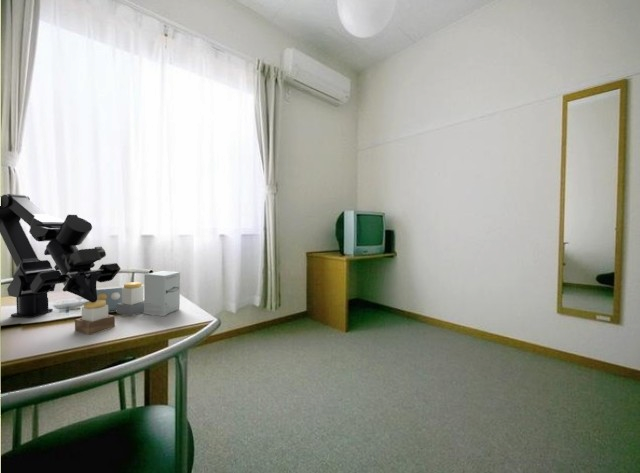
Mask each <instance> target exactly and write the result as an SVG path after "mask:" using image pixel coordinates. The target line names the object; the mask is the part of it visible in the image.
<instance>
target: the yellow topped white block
mask: <svg viewBox="0 0 640 473" xmlns="http://www.w3.org/2000/svg"><path fill="white" fill-rule="evenodd" d="M142 284H143V283H142V282H140V281H133V282H132V281H131V282H126V283H124V284H123V286H121V287H122V303H123V304H128V305H133V304H137V303H140V302H143V300H144V285H142Z"/></svg>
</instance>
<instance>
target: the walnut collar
mask: <svg viewBox="0 0 640 473" xmlns="http://www.w3.org/2000/svg"><path fill="white" fill-rule="evenodd" d="M115 319H116V316H115V315H113V314H108V317H107V318H103V319H100V320H97V321H93V322H89V321H85V320H82V317H80V318H76V319H74V331H75V332H78V333H82V334H87V335H90V336H91V335H94V334H97V333H100V332H103V331H107V330H109V329H112V328H115V327H116V325H115V323H116V322H115V321H116V320H115Z"/></svg>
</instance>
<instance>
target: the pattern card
mask: <svg viewBox="0 0 640 473" xmlns="http://www.w3.org/2000/svg"><path fill="white" fill-rule="evenodd" d="M122 287H123V286H119V287H116V286H115V287H107V288H106V287H104V288H96V290H97V300H105V301H106V305H108V312H111V311H110V310H114V311H117V303H121V302H122Z"/></svg>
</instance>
